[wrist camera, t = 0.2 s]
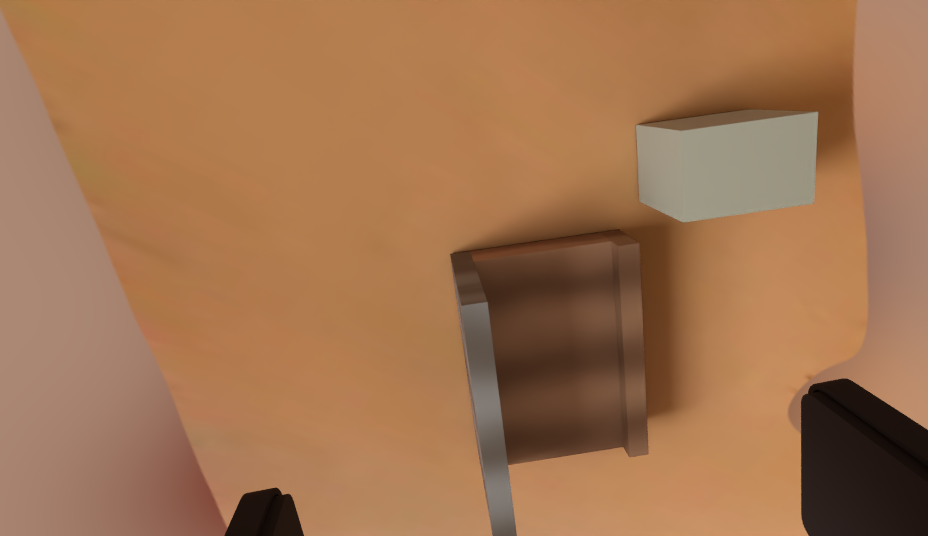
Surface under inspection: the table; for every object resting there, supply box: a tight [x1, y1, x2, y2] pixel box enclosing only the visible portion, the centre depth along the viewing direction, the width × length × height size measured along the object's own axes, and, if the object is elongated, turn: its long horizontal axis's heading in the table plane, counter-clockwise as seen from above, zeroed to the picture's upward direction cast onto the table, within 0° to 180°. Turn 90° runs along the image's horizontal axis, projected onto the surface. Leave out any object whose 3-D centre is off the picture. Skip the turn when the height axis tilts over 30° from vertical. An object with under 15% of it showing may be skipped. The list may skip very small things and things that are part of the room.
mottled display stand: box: [450, 230, 648, 536], centre depth 43 cm, size 18×14×12 cm
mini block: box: [636, 109, 818, 223], centre depth 42 cm, size 6×9×8 cm, turn 97°
